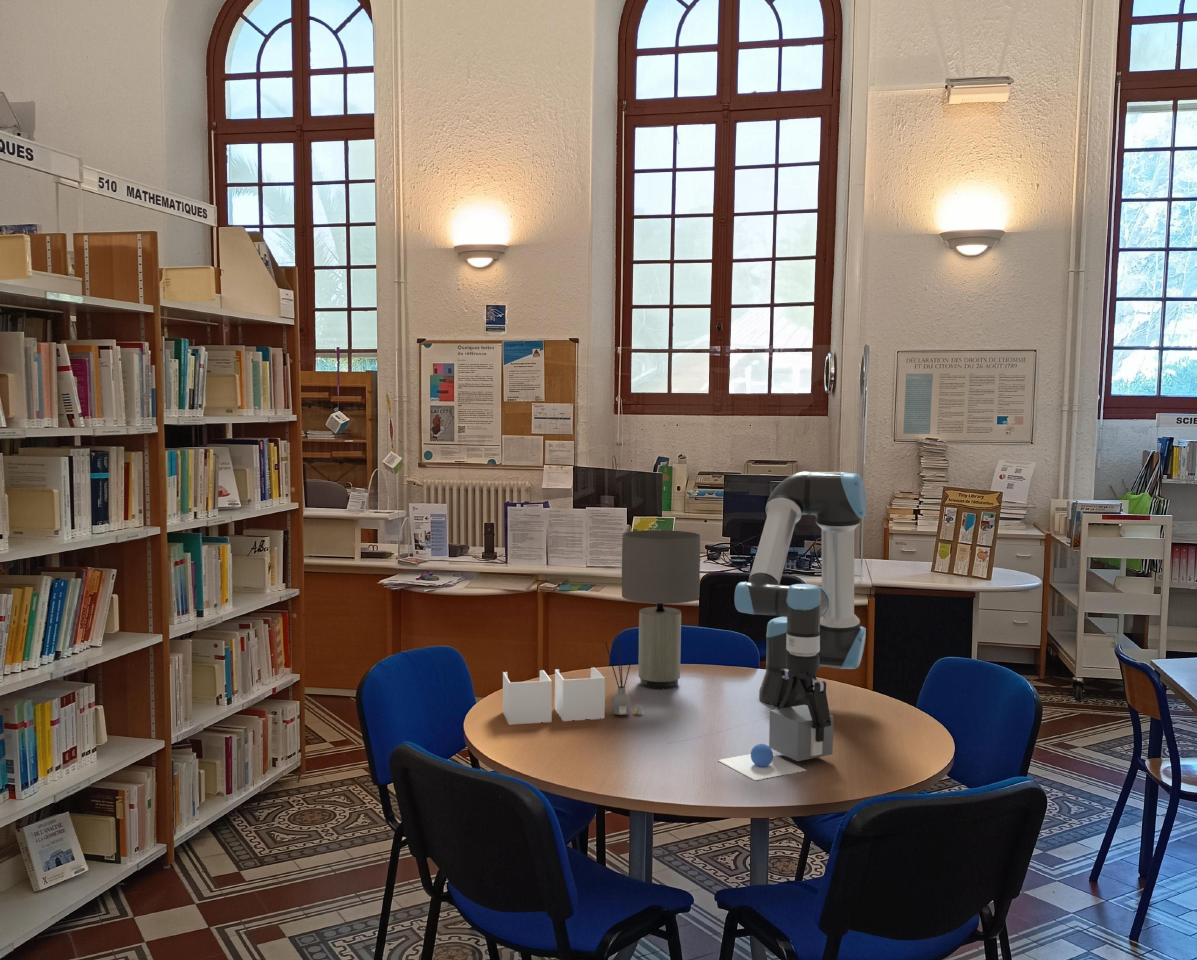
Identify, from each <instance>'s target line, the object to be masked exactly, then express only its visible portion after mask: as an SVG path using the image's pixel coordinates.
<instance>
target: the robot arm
mask: <svg viewBox="0 0 1197 960" xmlns="http://www.w3.org/2000/svg"><path fill="white" fill-rule="evenodd" d="M867 503H868V501H867V492H866V487H865V483H864V480H863V478H862V476H860V474H858V473H852V472H845V471H808V470H807V471H806V470H805V471H800V472H799V471H798V472H795V473H794V474H791V475H789V476H788V477H786V478H784V480H782V481H781V482H780V483H779V484H778V485H777V486H776V487H775V488H774V489H773V490H772V491H771V493H770V495H769V497H768V499H767V501H766V504H765V505H766V506H765V507H764V508H765V513H766V519H765V522H764V525H763V529H762V533H761V536H760V540H759V544H758V546H757V550H756V554H755V556H754V560H753V565H752V568H751V570H750V574H749V576H748V577H749V578H748V581H740V582H738V583H737V584H736V586H735V590H734V598H733V599H734V607H735V609H736V610H737V612H739V613H743V614H749V615H762V616H774V617H775V616H776V617H775V618H773V619H770V620H769V621H768V622H767V627H766V635H765V638H766V644H765V645H766V646H765V647H766V649H765V652H766V653H765V655H766V656H765V658H766V659H765V660H766V661H765V672H764V676H763V679H762V683H761V685H760V686H759V687H760V688H759V690H758V692H759V693H758V699H760V701H761V702H764V703H765V704H769V705H773V708H775V709H781V708H787V707H793V706H799V705H806V706H808V709H809V712H810V715H811V718H812V721H813V724H814V726H812V727H811V755H812V756H816V755H821V754H822V741H823V740H824V727H827V726H831V719H830V715H831V714H830V708H829V703H828V697H827V682H826V681H820V680H818V678H817V675H816V674H817V672H818V671H819V669H820V667H824V668H825V667H827V668H832V669H833V668H834V669H840V670H855V669H857V668H858V667H860V664H861V662H862V657H863V653H864V649H865V643H866V638H867V637H866V634H867V632H866V630H867V628H866V627H864V626H861V621H860V618H859V617H858V616H857V615H856V614H855V529H856V528H857V527H858V526H860V524H861V519H863V518H865V517H866V515H867V512H868V511H867V509H868V508H867ZM804 515H808V516H815V524H816V525H817V526H818V527H819V528H820V529H821V585H817V584H808V583H795V584H791V585H783V584H780V583H781V580H782V575H783V573H784V567H785V564H786V560H787V556H788V553H789V550H790V546H791V543H792V542H791V541H792V538H793V534H794V529H795V526H796V524H797V523H798V522H799V521H800V520H801V518H802V516H804ZM818 720H819V722H818Z"/></svg>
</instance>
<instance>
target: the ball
mask: <svg viewBox="0 0 1197 960" xmlns="http://www.w3.org/2000/svg"><path fill="white" fill-rule="evenodd" d="M750 754H751V759H752V761H753V763H754V764H755V765H757V766H759V767H765V766H768V765H769V764H770V763H771V762H772V760H773V754H774V752H773V749H771V748H770V747H769V745H767V744H765V743H758V744H756V745H754V746H753V747H752V748H751V750H750Z"/></svg>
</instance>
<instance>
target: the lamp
mask: <svg viewBox="0 0 1197 960" xmlns="http://www.w3.org/2000/svg"><path fill="white" fill-rule="evenodd" d="M621 540H622V543H621V548H622V549H621V597H622V598H623V599H625V600H628V601H632V602H638V603H645V604H646V603H647V604H656V606H652V607H651V606H650V607H643V608H641V609H639V611H638V612H639V613H638V615H639V616H638V678H639V679H640V681H639V683H640V686H641V687H644V688H646V689H650V690H670V689H671V690H672V689H675V688H677V687H678V686H679V680H680V678H681V649H682V648H681V647H682V646H681V644H682V643H681V642H682V640H681V639H682V638H681V637H682V636H681V634H682V611H681V610H680V609H677V608H674V607H667V606H664V605H665V604H684V603H691V602H695V601H697V600H699V598H700V587H701V586H700V584H701V583H700V581H701V580H700V579H701V573H700V572H701V534H699V533H696V532H691V531H685V530H684V531H681V530H666V529H665V530H664V529H662V530H661V529H660V530H659V529H656V530H655V529H650V530H649V529H647V530H632V531H626V532H625V531H624V532H623V533H622V539H621Z"/></svg>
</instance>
